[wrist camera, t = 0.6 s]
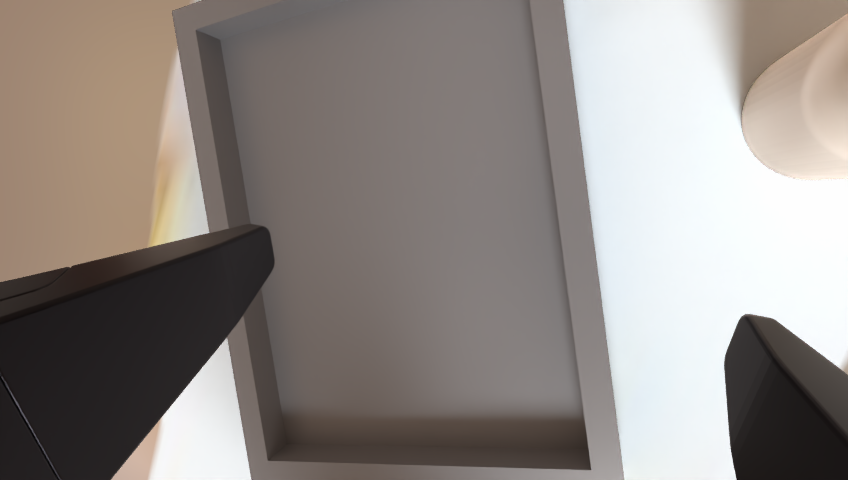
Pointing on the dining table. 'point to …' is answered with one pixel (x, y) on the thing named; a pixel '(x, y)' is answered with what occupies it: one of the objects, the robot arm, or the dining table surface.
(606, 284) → the dining table surface
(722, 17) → the dining table surface
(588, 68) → the dining table surface
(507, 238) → the tray
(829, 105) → the canister
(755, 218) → the dining table surface
